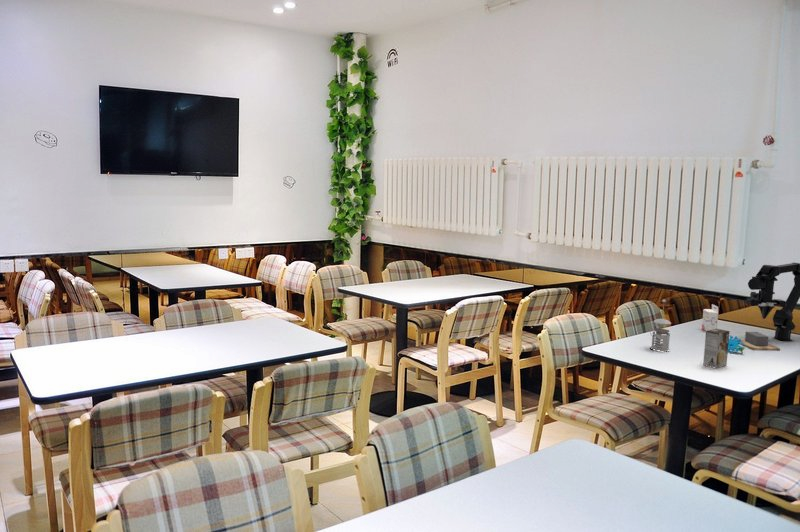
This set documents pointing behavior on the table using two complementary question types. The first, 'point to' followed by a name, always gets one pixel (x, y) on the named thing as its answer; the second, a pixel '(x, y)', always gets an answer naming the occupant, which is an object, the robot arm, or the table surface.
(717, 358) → the coffee box
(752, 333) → the block
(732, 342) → the gear
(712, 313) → the ink cartridge box
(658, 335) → the french press
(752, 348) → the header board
